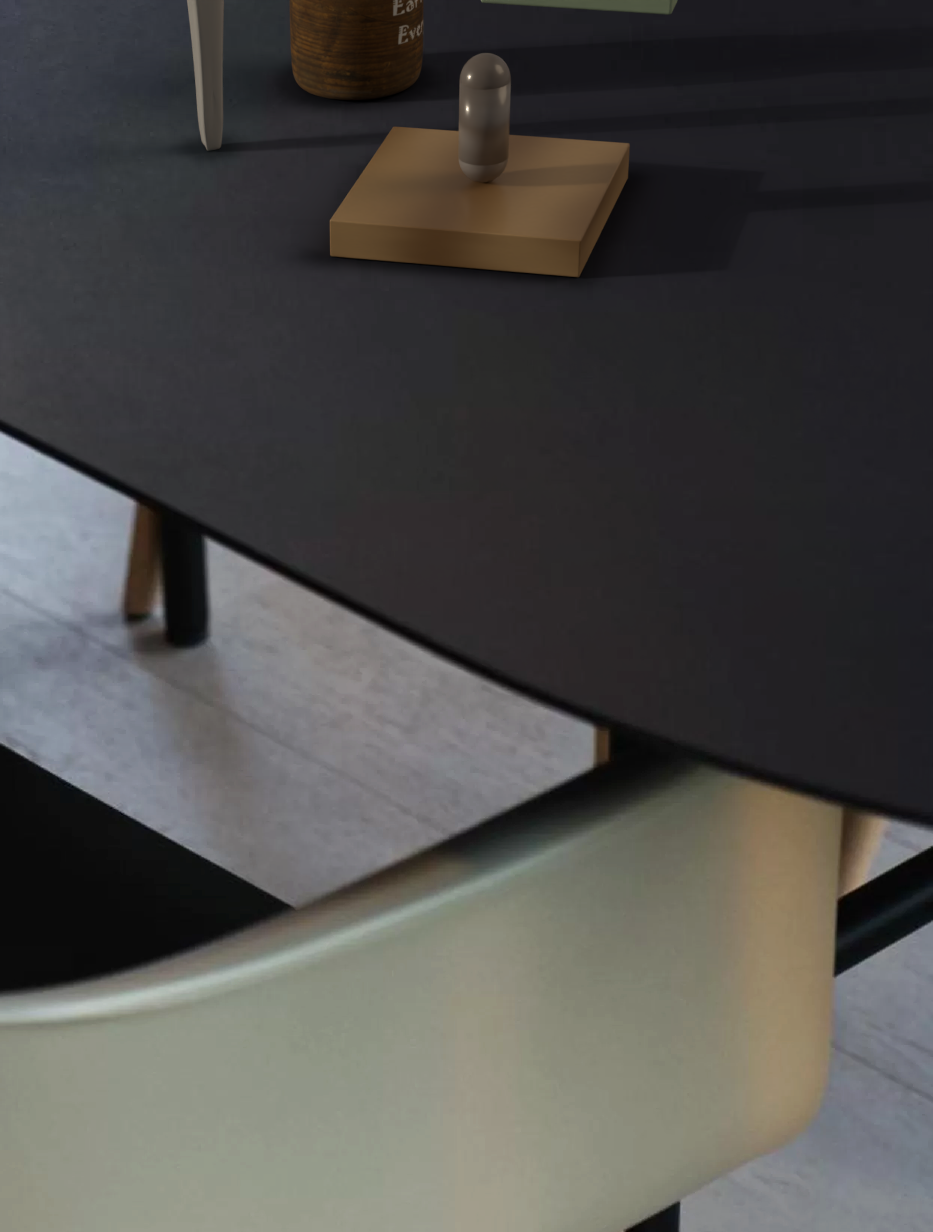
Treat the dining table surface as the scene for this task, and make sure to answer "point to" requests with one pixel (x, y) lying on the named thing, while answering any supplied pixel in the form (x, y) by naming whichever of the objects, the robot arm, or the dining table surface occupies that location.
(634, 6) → the green square ring block
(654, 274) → the dining table surface
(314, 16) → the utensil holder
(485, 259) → the base pad
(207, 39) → the pen
